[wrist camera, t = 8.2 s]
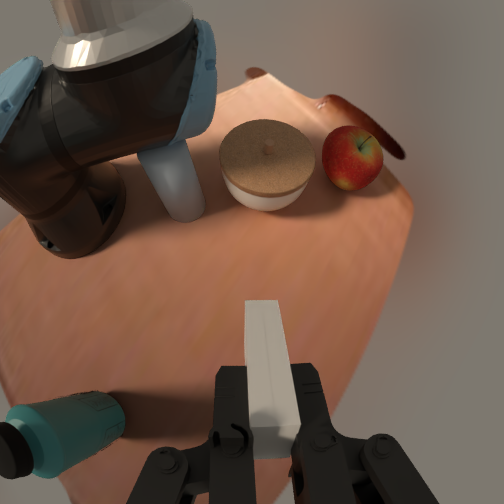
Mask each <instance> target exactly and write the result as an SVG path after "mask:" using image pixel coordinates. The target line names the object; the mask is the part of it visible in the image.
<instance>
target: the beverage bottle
mask: <svg viewBox="0 0 504 504" xmlns="http://www.w3.org/2000/svg"><path fill="white" fill-rule="evenodd" d="M76 394H79V395H75V394H72V396H69V397H63V398H58V399H53V400H49V401H46V400H45V401H44V402H38V403H32V404H26V405H24V404H20V405H16V406H14V407H12V408H11V409H10V410H9V412H8V414H7V416H6V420H5V422H0V475H1V476H2V477H4V478H7V479H15V478H19V477H25V476H28V475H30V474H31V473H33V474H35V475H36V476H39V477H42V478H47V479H50V478H55V477H57V476H58V475H60V474H61V473H62V472H64V471H65V470H67V469H69V468H71V467H72V466H74V465H76V464H78V463H79V462H81V461H83V460H85V459H87V458H88V457H90V456H92V455H93V454H95V453H96V452H98V451H99V450H101V449H103V448H104V447H106V446H107V445H109V444H110V443H112V444H113V441H115V440H116V439H118V438H119V437H120V436H121V435H123V434H122V433H123V431H124V428H125V415H124V412H123V410H122V408H121V406H120V405H119V403H118V402H117V401H116V400H115V399H114V398H112V397H111V396H110V395H108V394H105V393H102V391H101V392H99V391H98V390H97V391H91V392H86V393H85V392H84V393H83V392H82V393H76ZM73 395H74V396H73ZM67 396H68V395H67ZM60 397H61V396H60ZM50 399H51V398H50ZM118 440H119V439H118ZM116 441H117V440H116ZM116 441H115V442H116ZM110 445H111V444H110ZM110 445H109V446H110ZM107 447H108V446H107ZM107 447H106V448H107ZM104 449H105V448H104ZM104 449H103V450H104ZM101 451H102V450H101ZM96 454H97V453H96ZM96 454H95V455H96ZM83 462H84V461H83Z"/></svg>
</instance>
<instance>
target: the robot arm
mask: <svg viewBox="0 0 504 504" xmlns="http://www.w3.org/2000/svg"><path fill="white" fill-rule="evenodd" d="M50 2H51V5H52V8H53V11H54V14H55V16H56V19H57V21H58V24H59V27H60V29H61V37H60V39H59V41H58V43H57V45H56V47H55V49H54V51H53V54H52V62H53V64H52V65H50V66H48V67H43V62H42V60H39V59H38V57H36V56H30V57H26V58H23V59H21V60H19V61H18V62H16V63H15V64H13V65H12V66H11V67H9V68H8V69H7V70H5V71H4V72H3V73H2V74H1V75H0V197H1V198H2V199H3V200H5V201H6V202H7V203H8V204H9V205H11V206H12V207H13V208H15V209H16V210H17V211H18V212H20V213H21V214H22V215H23V216H24V217H25V218H26V220H27V222H28V224H29V226H30V228H31V230H32V232H33V233H34V235H35V237H36V239H37V241H38V242H39V243H40V244H41V245H42V246H43V247H44V248H45V249H46V250H48V251H49V252H51V253H52V254H54V255H56V256H58V257H61V258H67V259H71V258H78V257H81V256H84V255H86V254H89V253H90V252H92V251H94V250H95V249H97V248H98V247H99V246H101V245H102V244H103V243H104V242H105V241H106V240H107V239H108V238H109V237H110V235H111V234H112V233H113V231H114V230H115V228H116V227H117V225H118V223H119V221H120V219H121V217H122V214H123V211H124V207H125V200H126V192H125V186H124V183H123V180H122V179H121V177H120V175H119V173H118V172H117V170H116V169H115V167H114V166H113V165H112V164H111V163H110V162H108V161H110V160H113V159H117V158H120V157H124V156H127V155H131V154H135V153H139V152H142V151H146V150H150V149H154V148H159V147H163V146H170V145H173V144H174V143H175V142H178V141H181V140H185V139H188V138H192V137H195V136H198V135H200V134H202V133H203V132H205V131H206V130H207V128H208V127H209V125H210V124H211V121H212V119H213V115H214V111H215V105H216V94H217V93H216V92H217V70H216V67H215V64H216V46H215V40H214V35H213V31H212V29H211V27H210V25H209V24H208V22H206V21H203V20H199V19H193V10H192V7H191V6H190V5H189V4H188V3H187V2H185V1H183V0H50ZM244 346H245V366H221V368H220V369H219V371H218V373H217V374H216V379H215V398H214V418H213V428H212V429H211V430H210V433H209V436H208V440H207V441H206V442H205V443H204V444H202V445H200V446H198V447H195V448H190V449H185V450H181V451H180V450H178V449H176V448H173V447H161V448H158V449H156V450H154V451H152V452H151V454H150V455H149V456H148V458H147V460H146V462H145V464H144V467H143V469H142V471H141V473H140V475H139V477H138V479H137V481H136V484H135V486H134V488H133V490H132V492H131V494H130V496H129V499H128V501H127V503H126V504H194V502H195V499H196V496H197V495H198V494H202V493H207V492H209V504H256V489H255V472H254V459H273V458H287V457H290V455H291V456H292V466H291V468H290V470H289V475H288V477H291V476H292V484H293V492H294V500H295V504H439V503H438V501H437V499H436V498H435V497H434V495H433V494H432V492H431V491H430V489H429V488H428V486H427V484H426V483H425V481H424V480H423V479H422V477H421V476H420V474H419V473H418V471H417V470H416V468H415V467H414V465H413V464H412V462H411V461H410V459H409V458H408V456H407V455H406V453H405V452H404V450H403V449H402V447H401V446H400V444H399V443H398V442H397V441H396V440H395V439H394V438H393V437H392V436H390V435H388V434H376V435H373V436H372V437H370V438H369V439H368V440H365V439H356V438H349V437H345V436H343V435H341V434H340V433H338V432H337V431H336V430H335V429H334V427H333V426H332V423H331V420H330V416H329V412H328V408H327V404H326V400H325V396H324V393H323V389H322V385H321V381H320V378H319V374H318V371H317V370H316V369H315V368H314V366H313V365H312V364H311V363H299V364H290V362H289V357H288V351H287V346H286V341H285V335H284V330H283V325H282V320H281V315H280V309H279V304H278V300H245V335H244Z"/></svg>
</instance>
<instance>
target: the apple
mask: <svg viewBox="0 0 504 504" xmlns="http://www.w3.org/2000/svg"><path fill="white" fill-rule="evenodd" d="M322 162H323V166H324V169H325V172H326V174H327V176H328V177H329V179H330V180H331V181H332V182H333V183H334V184H335V185H336V186H337V187H339V188H341V189H344V190H357V189H361V188H363V187H365V186H367V185H368V184H369V183H371V182H372V181H373V180H374V179H375V178H376V177H377V175H378V174H379V172H380V170H381V168H382V165H383V153H382V149H381V147H380V145H379V143H378V141H377V140H376V138H375V137H374V136H373V135H371V134H370V133H369V132H367V131H366V130H364V129H362V128H359V127H356V126H342V127H339V128H336V129H335V130H333V131H332V132H331V133H330V134H329V135H328V136H327V138H326V139H325V142H324V145H323V149H322Z"/></svg>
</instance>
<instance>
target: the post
mask: <svg viewBox="0 0 504 504" xmlns="http://www.w3.org/2000/svg"><path fill="white" fill-rule="evenodd" d="M137 157H138V159H139V161H140V163H141V165H142V166H143V168H144V170H145V172H146V174H147V176H148V177H149V179H150V181H151V183H152V185H153V186H154V188H155V190H156V192H157V194H158V195H159V197H160V199H161V201H162V202H163V204H164V206H165V208H166V209H167V211H168V213H169V215H170V216H171V217H172V218H173V219H174V220H176V221H178V222H183V223H187V222H191V221H194V220H196V219H197V218H199V217H200V216H201V215H202V213H203V212H204V210H205V206H206V202H205V198H204V195H203V192H202V189H201V186H200V183H199V180H198V177H197V174H196V171H195V168H194V165H193V162H192V159H191V156H190V153H189V150H188V146H187V143H186V140H181V141H178V142H175V143H174V144H173V145H170V146H163V147H159V148H154V149H150V150H146V151H142V152H139V153H137Z"/></svg>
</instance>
